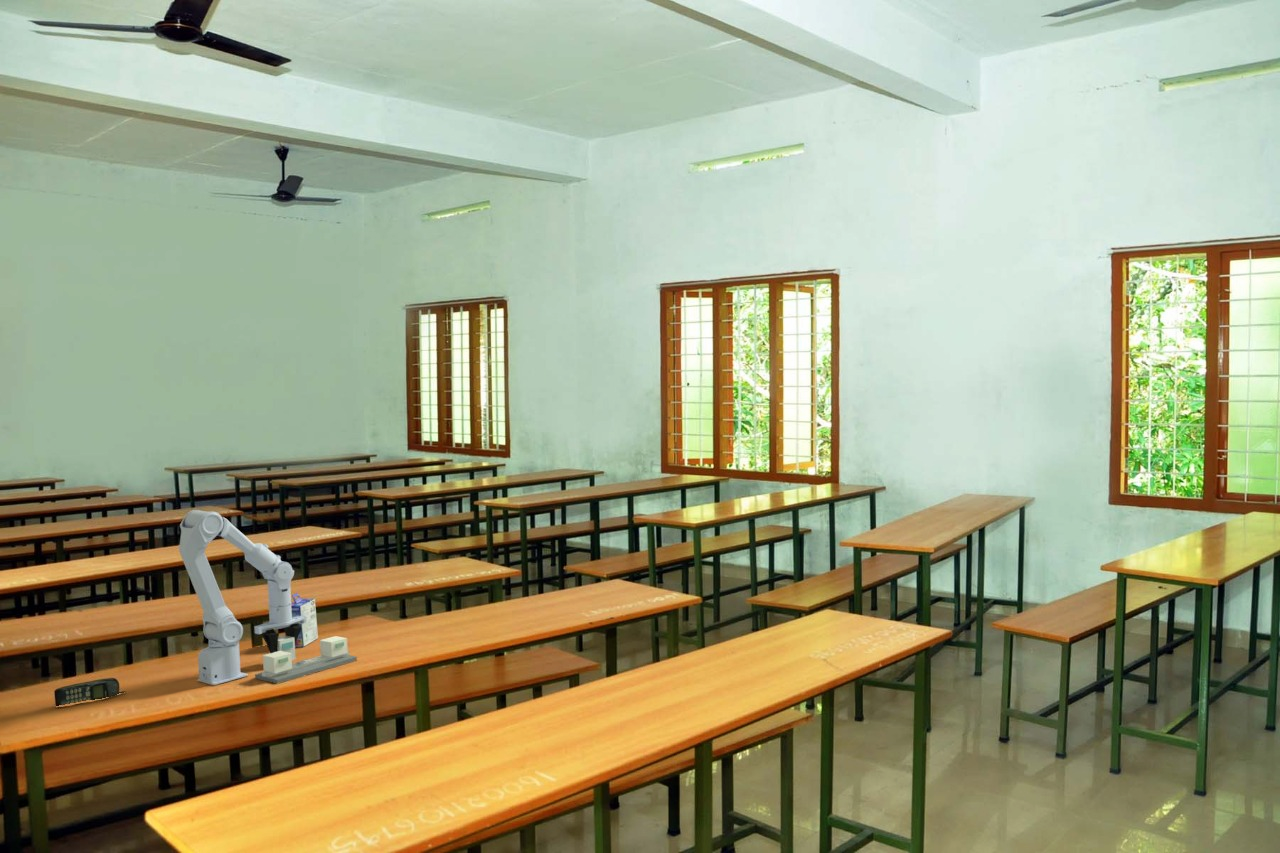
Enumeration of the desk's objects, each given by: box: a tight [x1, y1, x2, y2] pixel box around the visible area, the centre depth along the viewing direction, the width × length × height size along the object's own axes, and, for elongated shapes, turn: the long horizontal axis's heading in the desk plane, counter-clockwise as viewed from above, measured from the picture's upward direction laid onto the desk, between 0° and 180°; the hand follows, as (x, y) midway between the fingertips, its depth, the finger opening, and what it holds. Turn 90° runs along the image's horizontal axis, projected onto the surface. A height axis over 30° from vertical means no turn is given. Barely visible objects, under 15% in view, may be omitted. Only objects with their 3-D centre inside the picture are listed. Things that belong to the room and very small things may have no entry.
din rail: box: [262, 650, 350, 678], centre depth 257 cm, size 24×4×1 cm, turn 143°
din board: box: [254, 654, 358, 684], centre depth 257 cm, size 24×10×1 cm, turn 143°
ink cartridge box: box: [291, 592, 319, 648], centre depth 286 cm, size 10×6×14 cm, turn 174°
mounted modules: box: [262, 635, 349, 673], centre depth 257 cm, size 22×5×4 cm, turn 143°
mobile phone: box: [53, 677, 126, 707], centre depth 237 cm, size 5×3×15 cm
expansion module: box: [277, 635, 297, 661], centre depth 264 cm, size 4×5×6 cm
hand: (282, 654), depth 264 cm, fingers closed on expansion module, 4 cm apart
